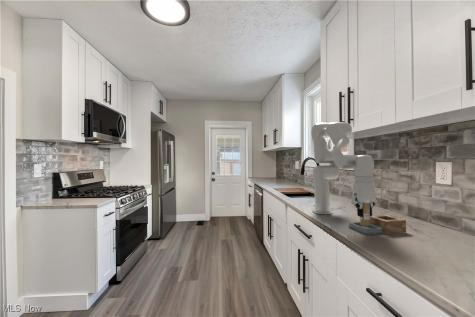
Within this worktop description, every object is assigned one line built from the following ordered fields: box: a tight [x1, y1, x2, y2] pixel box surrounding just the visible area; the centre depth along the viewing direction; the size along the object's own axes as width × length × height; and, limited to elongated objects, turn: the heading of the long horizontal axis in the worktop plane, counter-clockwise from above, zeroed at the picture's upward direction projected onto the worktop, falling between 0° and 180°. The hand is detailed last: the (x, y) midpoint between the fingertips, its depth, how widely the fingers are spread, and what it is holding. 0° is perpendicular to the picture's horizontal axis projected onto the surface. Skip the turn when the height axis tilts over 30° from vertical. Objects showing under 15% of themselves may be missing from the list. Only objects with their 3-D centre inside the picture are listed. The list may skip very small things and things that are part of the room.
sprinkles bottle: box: [359, 200, 370, 227], centre depth 110 cm, size 5×5×13 cm
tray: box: [348, 221, 384, 236], centre depth 110 cm, size 12×9×2 cm
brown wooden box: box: [370, 214, 407, 235], centre depth 110 cm, size 11×11×6 cm
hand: (364, 215), depth 110 cm, fingers closed on sprinkles bottle, 4 cm apart
